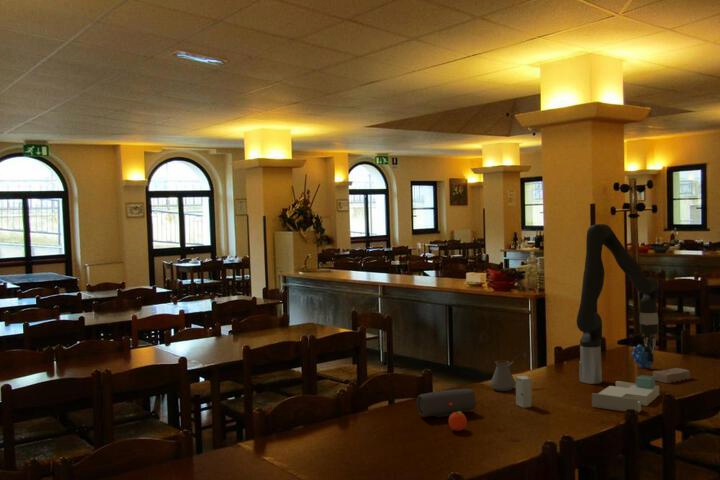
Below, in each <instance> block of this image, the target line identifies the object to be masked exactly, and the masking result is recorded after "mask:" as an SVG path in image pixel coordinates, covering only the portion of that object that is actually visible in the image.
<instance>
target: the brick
mask: <svg viewBox="0 0 720 480" xmlns="http://www.w3.org/2000/svg"><path fill="white" fill-rule="evenodd" d="M652 376H654V377H655V382H656V381H657V382H661V383H665V384H672V383H671V382H674V383H677V382H676V381H678V382H681V380H683V381H686V380H685V379H687V380H691V377H692V376H691V371H690V370H688V369H685V368H679V367H673V368H669V369H666V370H665V369H662V370H654V371H653V372H652Z"/></svg>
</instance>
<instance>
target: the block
mask: <svg viewBox="0 0 720 480" xmlns="http://www.w3.org/2000/svg"><path fill="white" fill-rule="evenodd" d="M635 380H636V381H635V383H636V387H640V388H648V389H652V388H653V387H654V386H656V380H655V377H654V376H653V375H646V374H645V375H644V374H643V375H642V374H640V375H638V376H637V377H636V378H635Z"/></svg>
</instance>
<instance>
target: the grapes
mask: <svg viewBox="0 0 720 480" xmlns="http://www.w3.org/2000/svg"><path fill="white" fill-rule="evenodd" d="M632 350H633V351H632V352H631V356H632V358H634V359H633V362H634V363H635V364H636V365H638V366H639V367H640V369H645V368H646V369H650V368H651V366H652V365H653V364H654V363H655V362H654V361H653V362H648V359H647V353H646V352H645V349H644V346H643V344H637V345H636V346H635V345H634V346H633V347H632Z"/></svg>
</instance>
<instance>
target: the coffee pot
mask: <svg viewBox="0 0 720 480" xmlns="http://www.w3.org/2000/svg"><path fill="white" fill-rule="evenodd" d="M522 356H523V357H525V356H527V354H526V353H525V352H524V351H523V352H521V353H520V354H519V355H518V356H516V357H515V358H514V359H512V361H511V362H510V361H509V360H505V359H502V360H496V361H495V362H494V363H495V364H496V367H495V371H494V373H493V376H492V378H491V380H490V385H491V387H492V388H493V389H494V390H495V391H498V392H509V391H512V390H513V388H514V387H516V379H515V378H514V377H513V373H512V372H511V370H510V368H509V367H511V365H513V364H514V363H515V362H517V361H518V360H519V359H520V358H521V357H522Z"/></svg>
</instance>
